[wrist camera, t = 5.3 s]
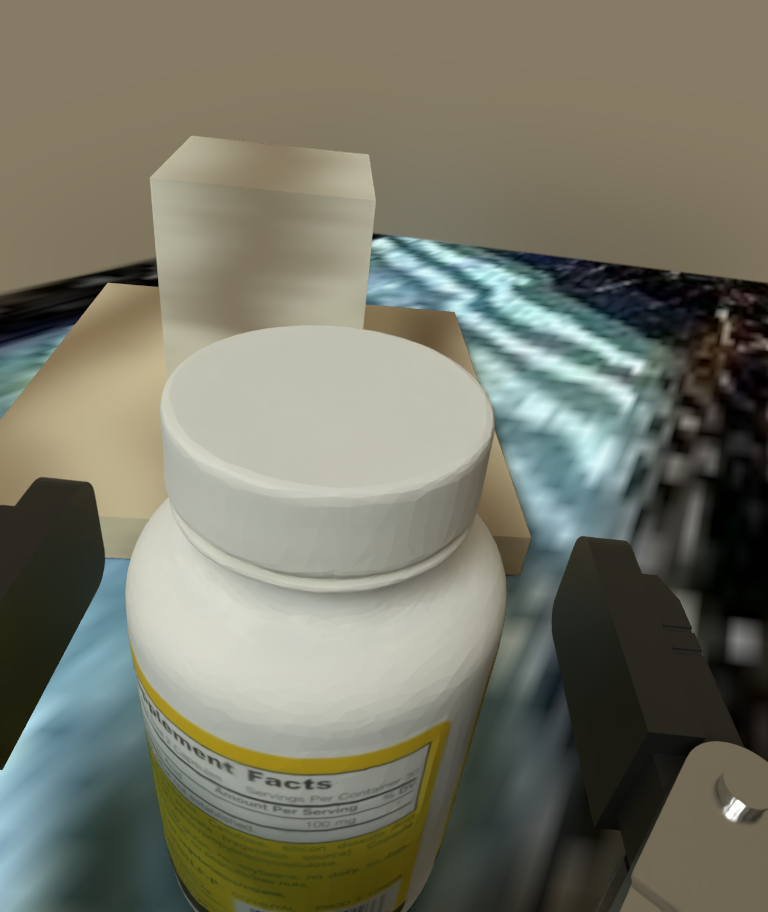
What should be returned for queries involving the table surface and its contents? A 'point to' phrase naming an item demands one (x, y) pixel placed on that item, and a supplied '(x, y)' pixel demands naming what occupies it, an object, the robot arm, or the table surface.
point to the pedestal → (217, 324)
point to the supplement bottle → (314, 616)
